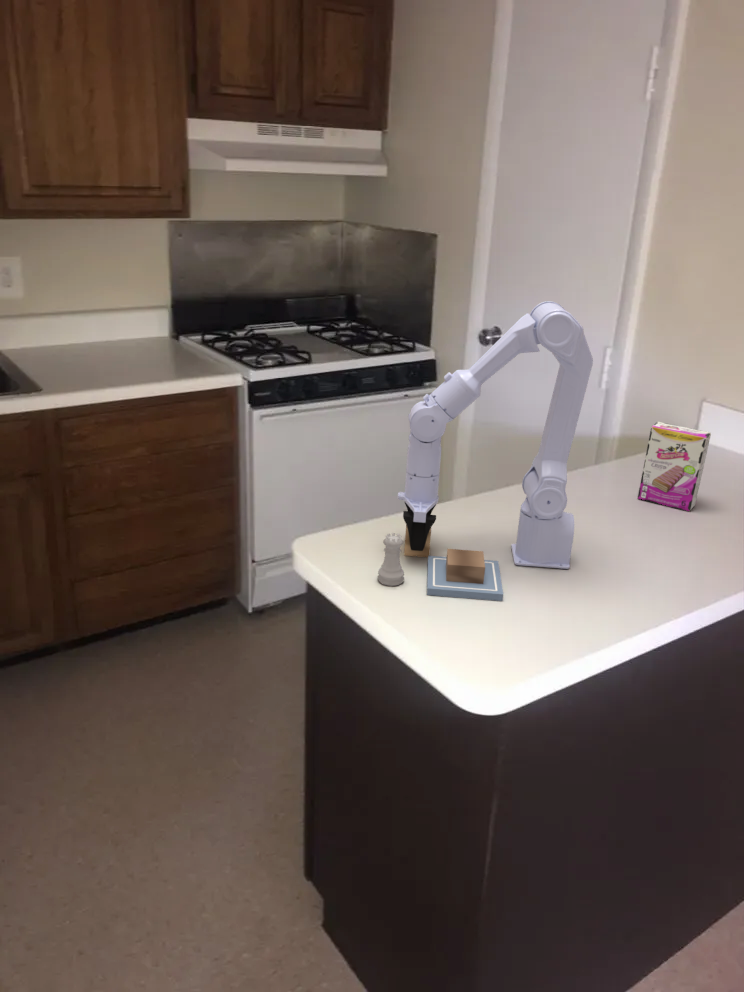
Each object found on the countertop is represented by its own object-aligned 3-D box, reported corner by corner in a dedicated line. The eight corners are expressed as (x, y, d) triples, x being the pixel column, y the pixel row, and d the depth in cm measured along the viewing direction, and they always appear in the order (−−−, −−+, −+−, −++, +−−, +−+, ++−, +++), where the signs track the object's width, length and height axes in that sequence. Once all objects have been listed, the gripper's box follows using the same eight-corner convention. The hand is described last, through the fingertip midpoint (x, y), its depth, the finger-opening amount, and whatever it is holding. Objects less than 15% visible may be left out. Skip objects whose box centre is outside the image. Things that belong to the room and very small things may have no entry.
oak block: (429, 546, 149) (431, 521, 147) (429, 557, 145) (431, 531, 143) (404, 544, 149) (406, 519, 147) (403, 555, 145) (405, 529, 143)
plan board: (497, 567, 142) (500, 545, 141) (502, 601, 131) (505, 577, 130) (427, 561, 143) (429, 539, 141) (426, 595, 132) (428, 571, 130)
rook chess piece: (401, 588, 133) (404, 543, 130) (374, 585, 134) (377, 540, 131) (406, 576, 137) (409, 532, 135) (380, 572, 138) (382, 529, 135)
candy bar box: (636, 500, 175) (649, 425, 169) (642, 493, 179) (656, 420, 173) (690, 513, 170) (706, 437, 164) (696, 505, 174) (711, 431, 168)
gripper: (401, 456, 148) (396, 525, 153) (397, 485, 135) (392, 560, 140) (440, 459, 148) (434, 528, 153) (440, 488, 134) (434, 563, 139)
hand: (417, 543), depth 146 cm, fingers closed on oak block, 4 cm apart
